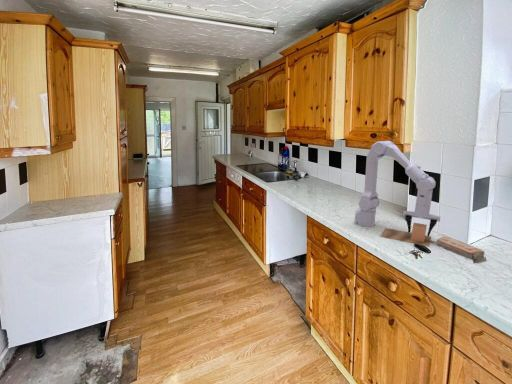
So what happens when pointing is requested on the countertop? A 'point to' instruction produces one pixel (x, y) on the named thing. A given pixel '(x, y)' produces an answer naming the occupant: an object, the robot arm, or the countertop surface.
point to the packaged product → (461, 249)
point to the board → (404, 237)
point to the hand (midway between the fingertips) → (418, 233)
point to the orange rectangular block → (418, 232)
